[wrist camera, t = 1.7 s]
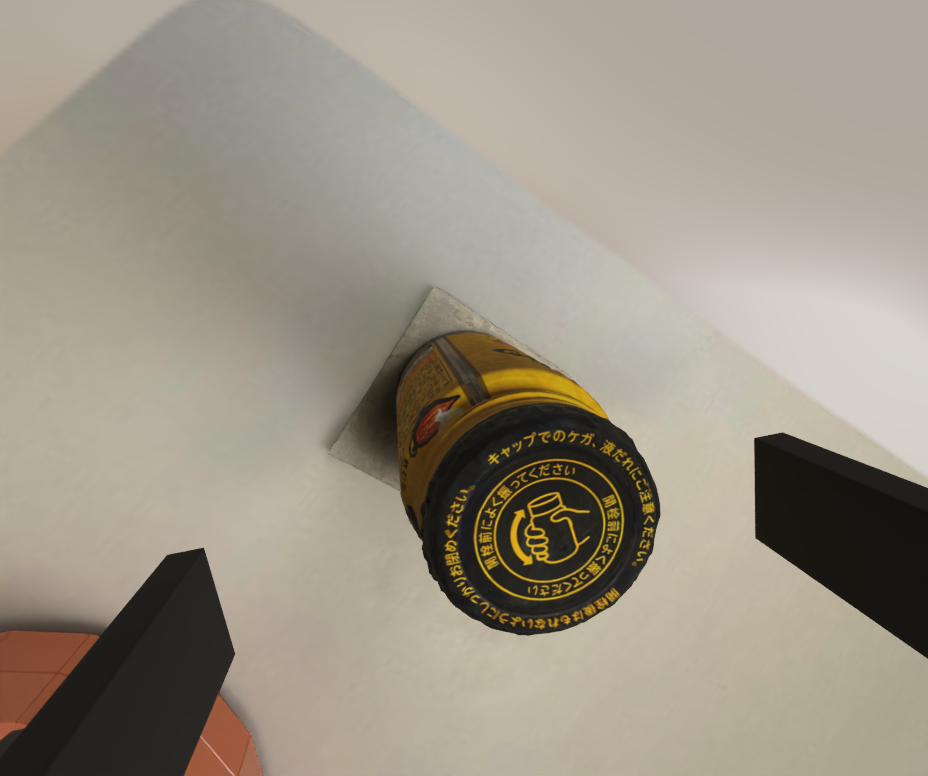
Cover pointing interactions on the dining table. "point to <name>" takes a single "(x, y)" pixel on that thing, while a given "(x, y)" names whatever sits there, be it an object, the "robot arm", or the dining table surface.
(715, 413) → the dining table surface
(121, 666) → the robot arm
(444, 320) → the condiment
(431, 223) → the dining table surface
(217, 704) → the bowl
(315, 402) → the dining table surface
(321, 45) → the dining table surface
